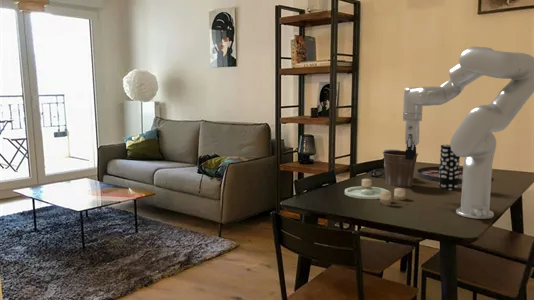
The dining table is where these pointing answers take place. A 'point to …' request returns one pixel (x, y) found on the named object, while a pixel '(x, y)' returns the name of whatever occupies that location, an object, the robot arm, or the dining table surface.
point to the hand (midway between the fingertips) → (410, 157)
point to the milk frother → (373, 172)
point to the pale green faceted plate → (364, 192)
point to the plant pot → (398, 168)
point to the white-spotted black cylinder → (448, 169)
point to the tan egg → (399, 194)
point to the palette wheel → (435, 173)
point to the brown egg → (385, 198)
